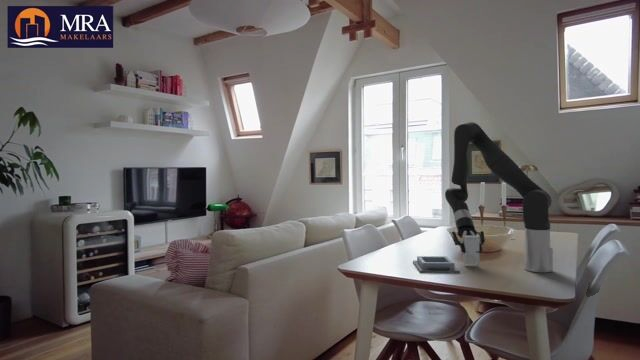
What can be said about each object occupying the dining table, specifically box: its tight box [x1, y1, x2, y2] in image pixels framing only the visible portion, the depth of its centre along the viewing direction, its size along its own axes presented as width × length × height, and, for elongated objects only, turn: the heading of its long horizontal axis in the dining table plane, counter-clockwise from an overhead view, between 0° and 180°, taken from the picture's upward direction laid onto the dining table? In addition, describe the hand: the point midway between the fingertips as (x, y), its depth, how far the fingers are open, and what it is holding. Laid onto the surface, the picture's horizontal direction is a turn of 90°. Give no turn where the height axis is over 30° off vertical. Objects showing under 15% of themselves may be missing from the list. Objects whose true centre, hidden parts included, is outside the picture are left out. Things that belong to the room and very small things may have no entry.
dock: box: [412, 255, 461, 274], centre depth 162 cm, size 16×18×4 cm
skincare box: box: [462, 235, 480, 266], centre depth 164 cm, size 6×4×12 cm
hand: (472, 252), depth 162 cm, fingers closed on skincare box, 6 cm apart
